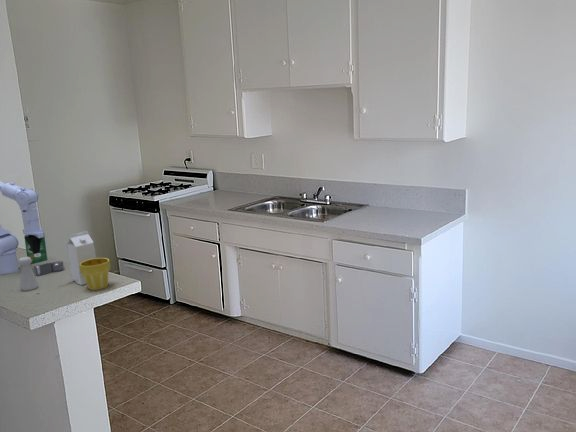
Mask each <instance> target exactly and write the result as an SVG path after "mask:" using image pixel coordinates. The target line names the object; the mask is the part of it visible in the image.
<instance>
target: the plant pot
mask: <svg viewBox="0 0 576 432" xmlns="http://www.w3.org/2000/svg"><path fill="white" fill-rule="evenodd" d="M79 266H80V271H81V274H83V276H84V278H85V280H86V283H87V284H86V285H87V286H86V287H88V289H89V290H90V291H100V290H103V289H106V288H107V287H108V285H109V271H110V269H111V261H110V259H109V257H108V258H107V257H96V258H94V259H89V260H85V261H83V262H81V263H80V264H79Z"/></svg>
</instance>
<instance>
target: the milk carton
mask: <svg viewBox="0 0 576 432" xmlns="http://www.w3.org/2000/svg"><path fill="white" fill-rule="evenodd" d="M94 243H95V242H94V240H93V239H92V238H91V236H90V234H89V231H87V230H85V231H81V232H77V233H73V234H72V233H71V234H69V239H68V241H67V243H66V247H67V253H68V254H67V255H68V260H69V266H70V267H69V268H70V274H71V279H72V283H74V284H77V285H80V286H83V285H87V283H86V280H85V278H84V276H83V274H81V271H80V266H79V264H80V263H81V262H83V261H85V260H89V259H94V258H97V257H96V250H95V244H94Z"/></svg>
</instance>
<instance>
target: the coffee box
mask: <svg viewBox="0 0 576 432" xmlns="http://www.w3.org/2000/svg"><path fill="white" fill-rule="evenodd" d="M43 235H44V237H43V238H42V240H41V244H40V253H37V254H33V252H32V250H31V248H30V245H29V244H28V242H27V241H26V239H25V237H28V236H29V235H26V234H24V238H23V239H24V242H25V243H24V245H25V250H26V251H25V252H26V257H30V258H31V260H32V263H30V264H31V265H35V264H38V263H41V262H46V261H48V260H49V259H48V253H47V252H48V251H47V246H46V245H47V244H46V237H45V233H44V232H43Z"/></svg>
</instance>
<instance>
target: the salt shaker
mask: <svg viewBox="0 0 576 432" xmlns="http://www.w3.org/2000/svg"><path fill="white" fill-rule="evenodd" d="M17 262H18V266H20V286H19V288H20V289H21V291H22V292H29V291H34V290H37V288H38V287H39V282H38V279H37V278H36V274H35V271H34V270H33V267H32V264H30V263H32V260H31V258H30V257H27V256H23V257H20V258H19V259H17Z"/></svg>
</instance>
